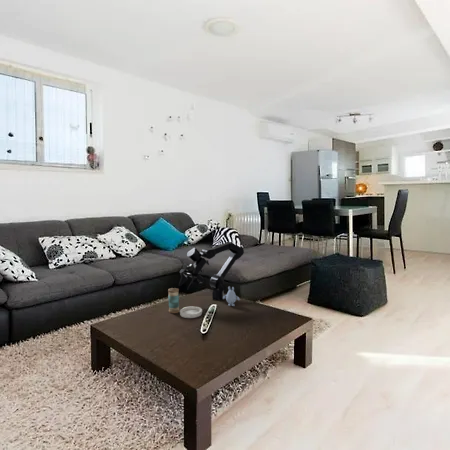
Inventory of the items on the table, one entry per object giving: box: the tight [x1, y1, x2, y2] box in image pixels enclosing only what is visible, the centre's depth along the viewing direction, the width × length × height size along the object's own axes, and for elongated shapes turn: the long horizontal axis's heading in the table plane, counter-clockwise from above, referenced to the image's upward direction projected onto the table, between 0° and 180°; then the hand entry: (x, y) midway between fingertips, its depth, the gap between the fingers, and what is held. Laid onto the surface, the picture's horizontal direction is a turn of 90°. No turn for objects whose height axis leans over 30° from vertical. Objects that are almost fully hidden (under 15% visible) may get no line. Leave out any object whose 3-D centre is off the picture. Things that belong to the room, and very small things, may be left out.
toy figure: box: [223, 285, 241, 307], centre depth 209 cm, size 11×6×12 cm, turn 72°
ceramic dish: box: [179, 305, 203, 319], centre depth 198 cm, size 12×12×2 cm
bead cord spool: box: [167, 287, 181, 314], centre depth 202 cm, size 6×6×13 cm
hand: (183, 287), depth 205 cm, fingers open, 9 cm apart
